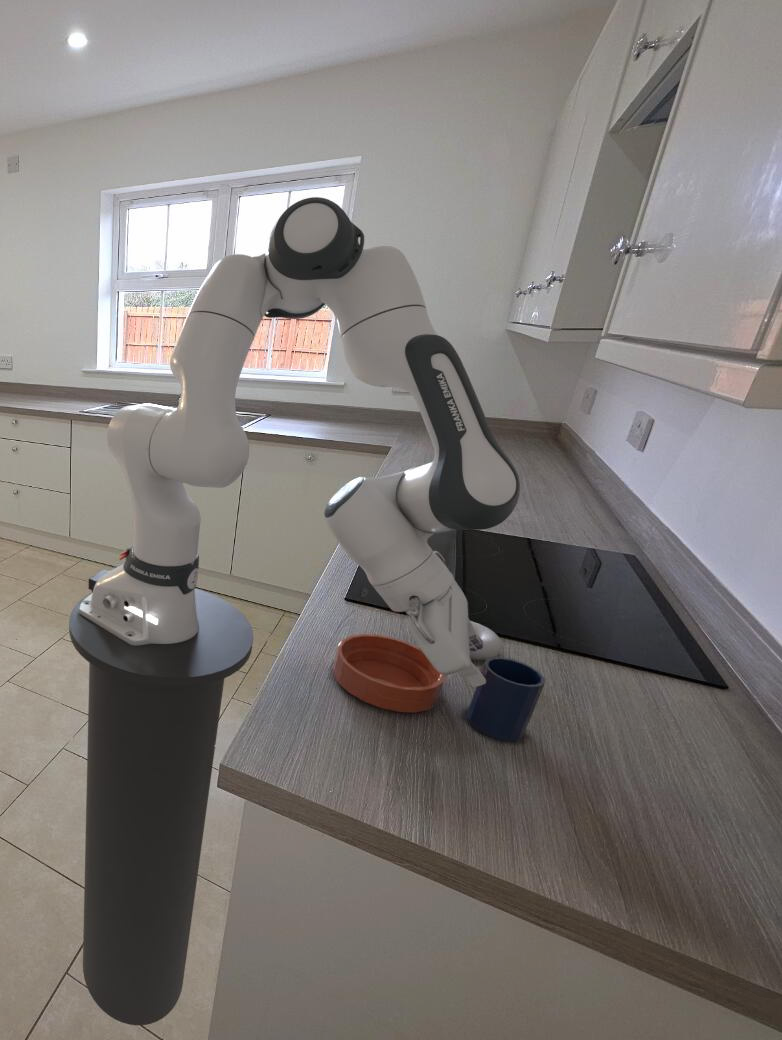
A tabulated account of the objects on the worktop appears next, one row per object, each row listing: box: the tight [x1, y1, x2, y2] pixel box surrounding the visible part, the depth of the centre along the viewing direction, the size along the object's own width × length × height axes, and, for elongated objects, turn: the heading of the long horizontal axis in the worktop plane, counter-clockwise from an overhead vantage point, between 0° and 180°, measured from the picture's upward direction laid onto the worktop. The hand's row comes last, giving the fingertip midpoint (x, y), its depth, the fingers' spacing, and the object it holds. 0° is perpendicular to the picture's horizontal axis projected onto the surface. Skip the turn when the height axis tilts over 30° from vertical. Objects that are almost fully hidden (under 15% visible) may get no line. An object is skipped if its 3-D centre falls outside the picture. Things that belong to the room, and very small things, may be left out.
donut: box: [470, 620, 503, 661], centre depth 95 cm, size 10×4×10 cm
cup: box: [466, 656, 546, 742], centre depth 76 cm, size 6×6×9 cm
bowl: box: [332, 633, 447, 713], centre depth 85 cm, size 14×14×4 cm
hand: (479, 664), depth 77 cm, fingers open, 8 cm apart
